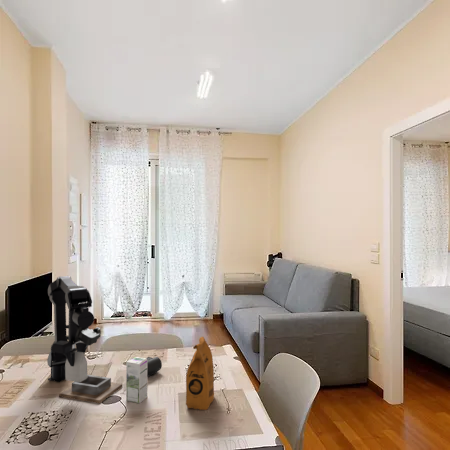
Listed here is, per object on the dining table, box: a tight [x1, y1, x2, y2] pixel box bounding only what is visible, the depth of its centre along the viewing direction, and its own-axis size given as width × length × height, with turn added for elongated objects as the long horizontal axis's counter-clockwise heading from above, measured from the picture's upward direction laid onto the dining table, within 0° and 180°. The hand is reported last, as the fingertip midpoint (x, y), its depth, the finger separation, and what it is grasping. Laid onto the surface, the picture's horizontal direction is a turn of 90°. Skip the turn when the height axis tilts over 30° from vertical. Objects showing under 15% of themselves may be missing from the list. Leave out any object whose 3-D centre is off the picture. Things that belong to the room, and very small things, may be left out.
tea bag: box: [65, 351, 89, 382], centre depth 127 cm, size 4×7×10 cm, turn 71°
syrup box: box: [125, 356, 148, 404], centre depth 127 cm, size 6×6×14 cm
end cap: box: [146, 356, 163, 378], centre depth 148 cm, size 10×7×7 cm
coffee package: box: [185, 336, 215, 411], centre depth 125 cm, size 10×12×22 cm
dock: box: [58, 374, 123, 404], centre depth 133 cm, size 18×14×4 cm
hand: (76, 364), depth 127 cm, fingers closed on tea bag, 4 cm apart
